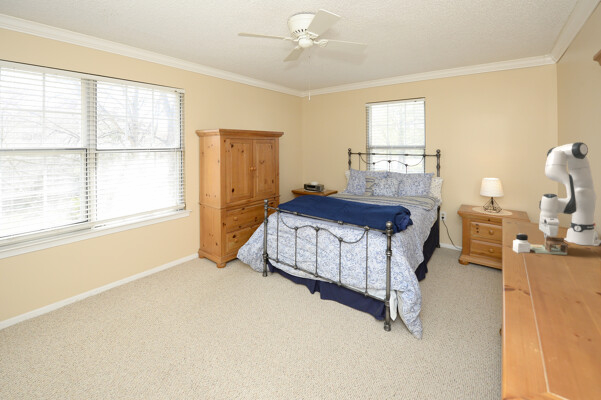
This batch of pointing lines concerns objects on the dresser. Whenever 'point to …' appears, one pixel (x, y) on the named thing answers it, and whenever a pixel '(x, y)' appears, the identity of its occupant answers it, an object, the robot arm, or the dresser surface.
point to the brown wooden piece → (555, 243)
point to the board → (542, 250)
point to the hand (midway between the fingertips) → (546, 239)
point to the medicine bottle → (521, 243)
